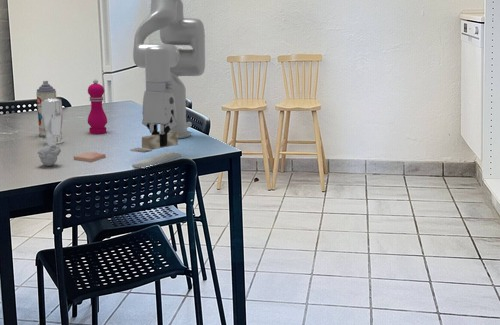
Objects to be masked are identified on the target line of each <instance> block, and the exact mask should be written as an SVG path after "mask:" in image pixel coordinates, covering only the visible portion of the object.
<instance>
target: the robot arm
mask: <svg viewBox="0 0 500 325" xmlns="http://www.w3.org/2000/svg"><path fill="white" fill-rule="evenodd" d="M157 31H159V36H160V41H161V43H145V41H146V39H147V38H148V37H149V36H151V34H154V33H155V32H157ZM205 37H206V36H205V26H204V23H203V21H202V20H201V19H200V18H194V17H193V18H192V17H189V18H188V17H186V18H185V17H184V3H183V0H150V13H149V15H148V16H147V17H146V18H145V19H144V20H143V21H141V23H140V25H139V26H138V27H137V29H136V32H135V35H134V39H133V49H132V50H133V52H132V57H133V58H132V59H133V63H134V64H135V65H136V66H137V67H138V68H141V69H142V68H143V69H145V71H144V72H145V73H144V74H145V91H144V93H143V98H142V99H143V100H142V120H141V124H142V125H143V126H145V127H146V128H147V129H148V130H149V133H150V134H151V135H156V134H160V135H159V136H160V147H164V146H167V133H169V132H178V139H185V138H189V137H191V131H189V130H188V128H190V127H192V125H193V124H192V122H191V121H187V103H186V102H187V95H186V94H187V92H186V86H185V84H184V83H183V81H182V80H181V79H180V78H179V77H199V76H202V75H203V74H204V73H205V69H206V38H205ZM177 46H190V47H191V48H192V49H188V48H186V49H182V48H177ZM158 125H159V126H158ZM159 127H160V130H158V129H159ZM164 148H165V147H164Z"/></svg>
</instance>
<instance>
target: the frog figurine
mask: <svg viewBox="0 0 500 325" xmlns="http://www.w3.org/2000/svg"><path fill="white" fill-rule="evenodd" d="M61 150H62V147H61V146H60V145H59V144H55V143H48V144H46V145H44V146H43V147H41V148H40V149H39V150H37V155H38V158H39V160H40V163H41V164H42V165H44V166H48V167H51V166H54V165H55V164H56V163H57V161H58V156H59V155H60V153H61V152H62V151H61Z"/></svg>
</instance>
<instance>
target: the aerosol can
mask: <svg viewBox="0 0 500 325" xmlns="http://www.w3.org/2000/svg"><path fill="white" fill-rule="evenodd" d="M44 99H57V91H56V88H54V87H53V86H52V85H51V84H50V83H49V80H43V81H42V84H41V85H40V86H39V87H38V88H37V89H36V103H37V104H36V105H37V106H36V107H37V119H38V121H37V122H38V132H39V137H40V138H46V131H45V126H44V123H43V118H42V100H44Z"/></svg>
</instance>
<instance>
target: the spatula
mask: <svg viewBox="0 0 500 325" xmlns="http://www.w3.org/2000/svg"><path fill="white" fill-rule="evenodd" d="M159 135H160V134H156V135H152V134H150V135H145V136H144V135H143V136H142V137H141V147H135V148H134V147H133V148H130V152H134V153H135V152H136V153H141V154H142V153H149V152H153V151H154V150H159V149H162V148H168V147H172V146H176V145H178V144H179V138H178V132H169V133H167V146H164V147H160V136H159Z"/></svg>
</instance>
